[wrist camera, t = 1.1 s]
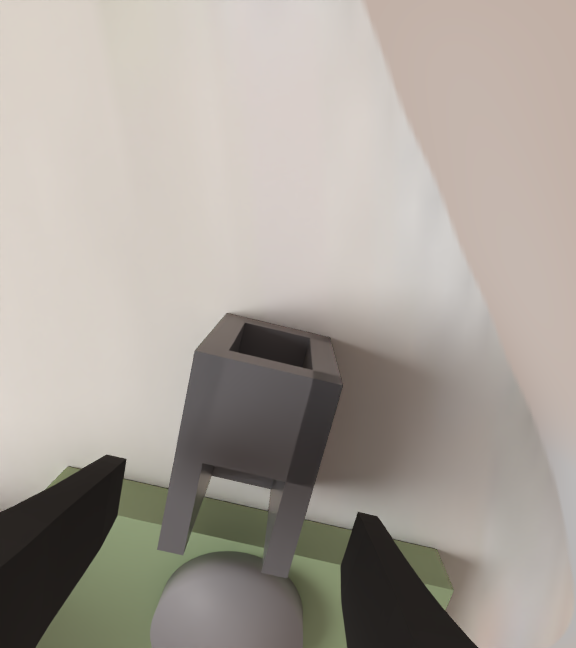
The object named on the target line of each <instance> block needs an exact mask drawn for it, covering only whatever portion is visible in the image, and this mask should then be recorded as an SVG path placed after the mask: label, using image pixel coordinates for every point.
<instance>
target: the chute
mask: <svg viewBox="0 0 576 648" xmlns="http://www.w3.org/2000/svg"><path fill="white" fill-rule="evenodd" d="M342 387H343V384H342V380H341V376H340V372H339V369H338V365H337V361H336V357H335V354H334V350H333V346H332V343H331V339H330V337H326V336H322V335H318V334H313V333H309V332H305V331H301V330H296V329H292V328H288V327H284V326H280V325H275V324H271V323H267V322H263V321H259V320H254V319H250V318H246V317H242V316H237V315H233V314H229V313H226V315H225V316H224V317H223V318H222V319H221V320H220V322H219V323H218V324H217V325H216V326H215V328H214V329H213V330H212V331H211V332H210V333H209V335H208V336H207V337H206V338H205V339H204V340H203V342H202V343H201V344H200V345H199V346H198V348H197V349H196V350H195V352H194V358H193V363H192V368H191V373H190V379H189V384H188V389H187V394H186V400H185V405H184V410H183V415H182V421H181V426H180V431H179V437H178V442H177V447H176V452H175V458H174V463H173V468H172V473H171V479H170V484H169V489H168V494H167V500H166V505H165V510H164V515H163V521H162V526H161V531H160V536H159V542H158V547H157V550H160V551H165V552H169V553H174V554H179V555H184V552H185V549H186V546H187V543H188V541H189V538H190V535H191V532H192V529H193V527H194V524H195V521H196V518H197V515H198V513H199V510H200V507H201V504H202V501H203V499H204V496H205V493H206V490H207V487H208V485H209V482H210V479H211V476H215V477H220V478H224V479H229V480H233V481H237V482H242V483H246V484H251V485H255V486H260V487H264V488H268V489H271V492H270V501H269V510H268V518H267V527H266V536H265V545H264V554H263V563H262V572H261V573H265V574H269V575H274V576H278V577H283V578H288V574H289V571H290V567H291V564H292V560H293V557H294V553H295V550H296V546H297V543H298V539H299V536H300V533H301V529H302V526H303V522H304V519H305V515H306V512H307V508H308V505H309V501H310V498H311V494H312V491H313V487H314V484H315V481H316V477H317V474H318V470H319V467H320V463H321V460H322V456H323V453H324V449H325V446H326V442H327V439H328V436H329V432H330V429H331V425H332V422H333V418H334V415H335V411H336V408H337V404H338V401H339V397H340V394H341V390H342Z"/></svg>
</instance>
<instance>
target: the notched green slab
mask: <svg viewBox="0 0 576 648" xmlns="http://www.w3.org/2000/svg"><path fill="white" fill-rule="evenodd" d="M79 470H81V469H77V468H73V467H67V468H66V469H65V470H64V471H63V472H62V473H61V474H60V475H59V476H58V477H57V478H56V479H55V480H54V481H53V482H52V483H51V484H50V485H49V486H48V487H47V488H46V489H48V488H50V487H51V486H53V485H55V484H57V483H58V482H60V481H62V480H64V479H66V478H67V477H69V476H71V475H72V474H74V473H76V472H78V471H79ZM46 489H45V490H46ZM167 494H168V489H166V488H162V487H157V486H153V485H148V484H144V483H139V482H135V481H130V480H126V479H123V484H122V490H121V497H120V503H119V509H118V516H117V518H116V520H115V522H114V524H113V526H112V528H111V530H110V532H109V534H108V536H107V537H106V539H105V541H104V543H103V545H102V547H101V549H100V550H99V552H98V553H97V555H96V556H95V558H94V559H93V561H92V562H91V564H90V565H89V567H88V568H87V570H86V571H85V573H84V574H83V576H82V577H81V579H80V580H79V582H78V583H77V585H76V586H75V588H74V589H73V591H72V592H71V594H70V595H69V597H68V598H67V600H66V601H65V603H64V604H63V606H62V607H61V609H60V610H59V612H58V613H57V615H56V616H55V618H54V619H53V620H52V622H51V623H50V625H49V627H48V628H47V630H46V631H45V633H44V635H43V636H42V638H41V639H40V641H39V643H38V644H37V646H36V648H347V643H346V635H345V628H344V620H343V613H342V605H341V570H340V566H341V563H342V560H343V557H344V554H345V551H346V548H347V544H348V541H349V538H350V535H351V532H352V530H348V529H344V528H339V527H335V526H330V525H326V524H322V523H317V522H313V521H308V520H304V522H303V526H302V529H301V533H300V536H299V539H298V543H297V546H296V550H295V553H294V557H293V560H292V564H291V567H290V571H289V574H288V578H283V577H278V576H274V575H269V574H265V573H261V572H262V563H263V554H264V545H265V536H266V527H267V518H268V511H264V510H259V509H255V508H250V507H246V506H242V505H237V504H233V503H228V502H224V501H219V500H215V499H210V498H206V497H204V499H203V501H202V504H201V507H200V510H199V513H198V515H197V518H196V521H195V524H194V527H193V529H192V532H191V535H190V538H189V541H188V543H187V546H186V549H185V552H184V555H179V554H174V553H169V552H165V551H160V550H157V547H158V542H159V536H160V531H161V526H162V521H163V515H164V510H165V505H166V500H167ZM394 542H395V543H396V545H397V546H398V548H399V549H400V551H401V552H402V554H403V555H404V557H405V558H406V559H407V561H408V562H409V564H410V565H411V567H412V568H413V569H414V571H415V572H416V574H417V575H418V576H419V578H420V579H421V580H422V582H423V583H424V584H425V586H426V587H427V588H428V590H429V591H430V592H431V594H432V595H433V596H434V597H435V599H436V600H437V601H438V602H439V604H440V605H441V606H442V608H443V609H444V610H446V608H447V606H448V603H449V601H450V598H451V596H452V593H453V591H454V589H453V587H452V585H451V582H450V580H449V577H448V575H447V573H446V570H445V568H444V566H443V563H442V561H441V558H440V556H439V554H438V551H437V549H433V548H428V547H424V546H419V545H415V544H410V543H406V542H402V541H397V540H394Z"/></svg>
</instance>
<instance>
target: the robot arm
mask: <svg viewBox="0 0 576 648" xmlns="http://www.w3.org/2000/svg"><path fill="white" fill-rule="evenodd" d="M125 465H126V459H124V458H119V457H115V456H110V455H105V456H103V457H102V458H100V459H98V460H96V461H95V462H93V463H91V464H89V465H88V466H86V467H84V468H83V469H81V470H79V471H78V472H76V473H74V474H72V475H71V476H69V477H67V478H66V479H64V480H62V481H60V482H58V483H57V484H55V485H53V486H51V487H50V488H48V489H46V490H44V491H42V492H40V493H38V494H36V495H34V496H32V497H30V498H29V499H27V500H25V501H23V502H21V503H19V504H17V505H15V506H13V507H11V508H9V509H6V510H4V511H2V512H0V648H36V646H37V644H38V643H39V641H40V639H41V638H42V636H43V635H44V633H45V631H46V630H47V628H48V627H49V625H50V623H51V622H52V620H53V619H54V618H55V616H56V615H57V613H58V612H59V610H60V609H61V607H62V606H63V604H64V603H65V601H66V600H67V598H68V597H69V595H70V594H71V592H72V591H73V589H74V588H75V586H76V585H77V583H78V582H79V580H80V579H81V577H82V576H83V574H84V573H85V571H86V570H87V568H88V567H89V565H90V564H91V562H92V561H93V559H94V558H95V556H96V555H97V553H98V552H99V550H100V549H101V547H102V545H103V543H104V541H105V539H106V537H107V536H108V534H109V532H110V530H111V528H112V526H113V524H114V522H115V520H116V518H117V516H118V509H119V503H120V497H121V490H122V484H123V478H124V471H125ZM340 570H341V605H342V613H343V620H344V628H345V635H346V643H347V648H478V647H477V646H476V645H475V644H474V643H473V642H472V641H471V640H470V638H469V637H468V636H467V635H466V634H465V633H464V632H463V631H462V630H461V628H460V627H459V626H458V625H457V624H456V623H455V622H454V621H453V619H452V618H451V617H450V616H449V615H448V614H447V612H446V611H445V610H444V609H443V608H442V606H441V605H440V604H439V602H438V601H437V600H436V599H435V597H434V596H433V595H432V594H431V592H430V591H429V590H428V588H427V587H426V586H425V584H424V583H423V582H422V580H421V579H420V578H419V576H418V575H417V574H416V572H415V571H414V569H413V568H412V567H411V565H410V564H409V562H408V561H407V559H406V558H405V557H404V555H403V554H402V552H401V551H400V549H399V548H398V546H397V545H396V543H395V542H394V540H393V539H392V537H391V536H390V534H389V533H388V531H387V530H386V528H385V527H384V525H383V524H382V522H381V521H380V519H379V518H378V517H377V516H373V515H369V514H365V513H360V512H358V514H357V517H356V520H355V523H354V526H353V529H352V532H351V535H350V538H349V541H348V544H347V548H346V551H345V554H344V557H343V560H342V563H341V566H340Z"/></svg>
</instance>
